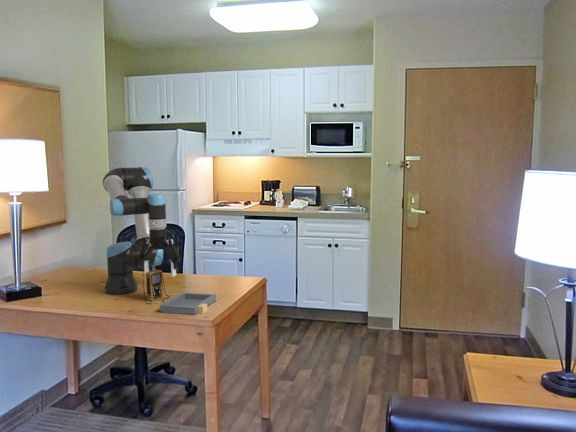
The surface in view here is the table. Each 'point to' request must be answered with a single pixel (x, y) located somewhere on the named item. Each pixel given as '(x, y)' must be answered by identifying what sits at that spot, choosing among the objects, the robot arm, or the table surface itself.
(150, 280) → the multimeter
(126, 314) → the table surface
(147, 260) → the robot arm
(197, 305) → the tray
